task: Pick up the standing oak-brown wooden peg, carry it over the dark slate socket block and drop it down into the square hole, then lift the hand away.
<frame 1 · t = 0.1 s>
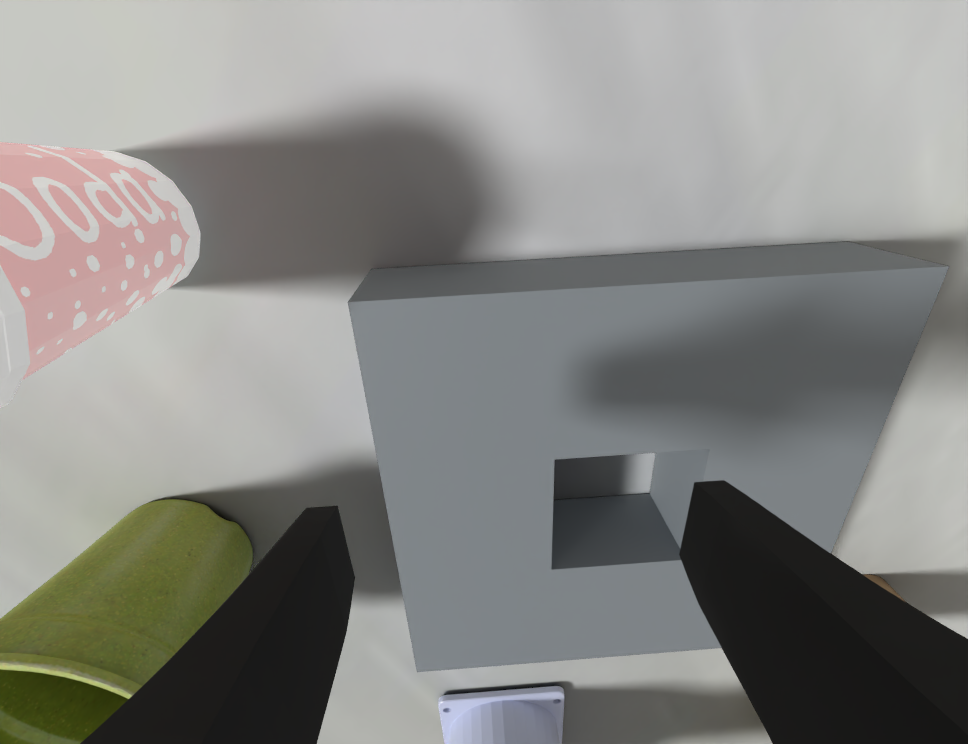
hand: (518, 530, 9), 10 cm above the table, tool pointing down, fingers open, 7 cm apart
beverage cup: (134, 223, 16), on the table
plant pot: (191, 540, 23), on the table
socket block: (596, 450, 21), on the table
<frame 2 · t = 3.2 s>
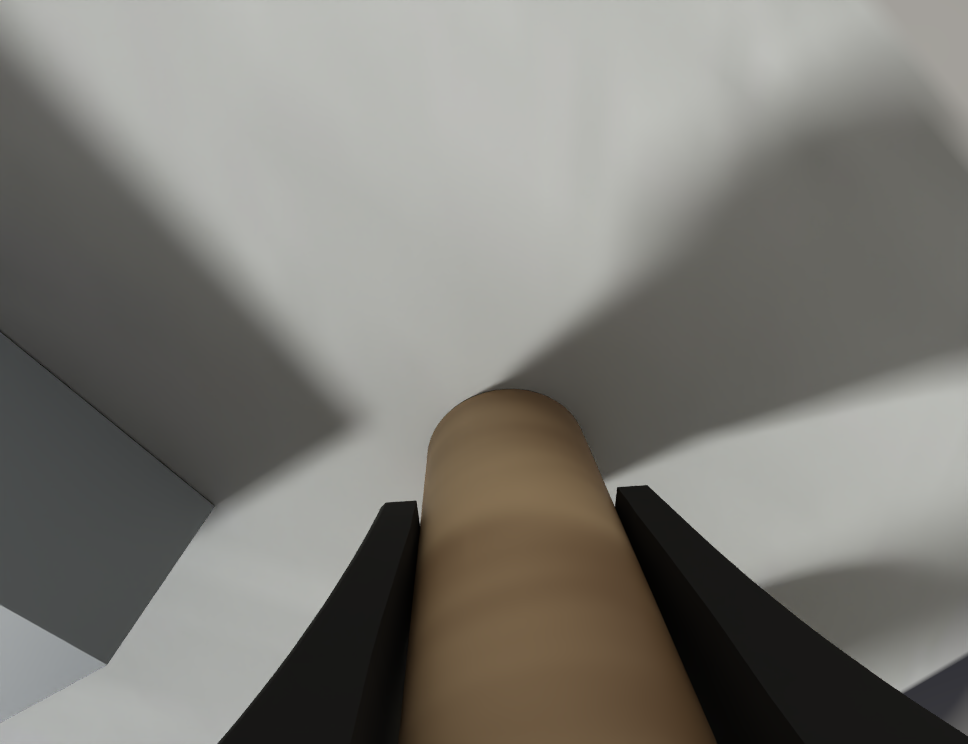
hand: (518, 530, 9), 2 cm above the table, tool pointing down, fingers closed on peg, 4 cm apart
peg: (506, 458, 12), on the table, touching gripper
when the fingers open (5 cm above the table, at t = 7.6 s): peg drops 2 cm, resting in socket block.
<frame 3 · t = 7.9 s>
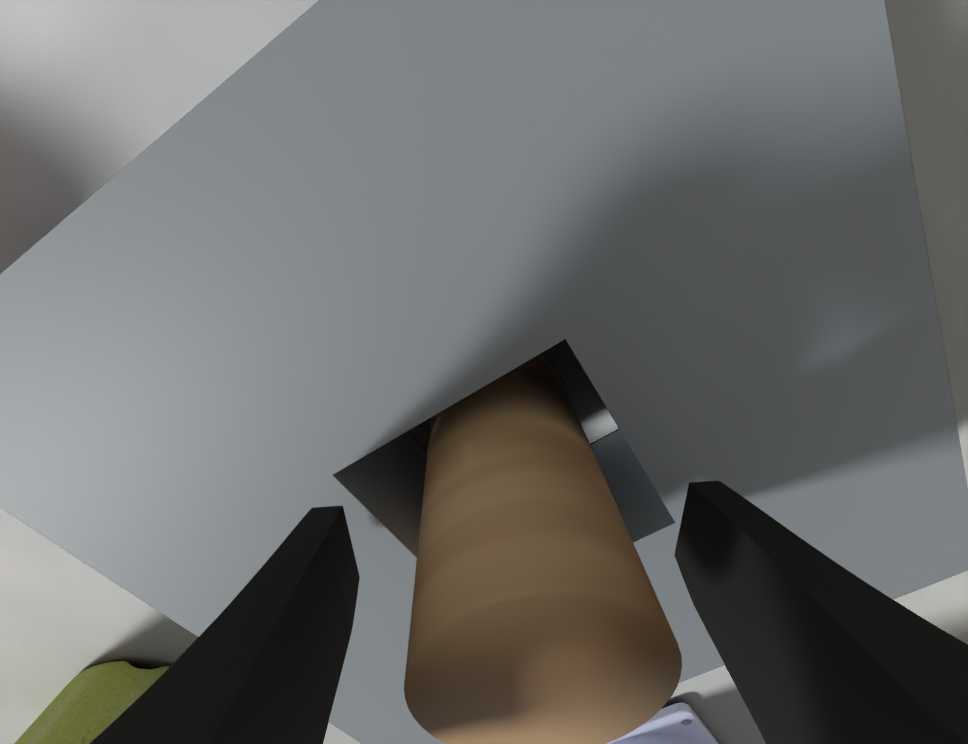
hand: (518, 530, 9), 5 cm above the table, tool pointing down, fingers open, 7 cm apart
plant pot: (152, 695, 20), on the table
socket block: (499, 408, 14), on the table
peg: (499, 405, 14), resting in socket block
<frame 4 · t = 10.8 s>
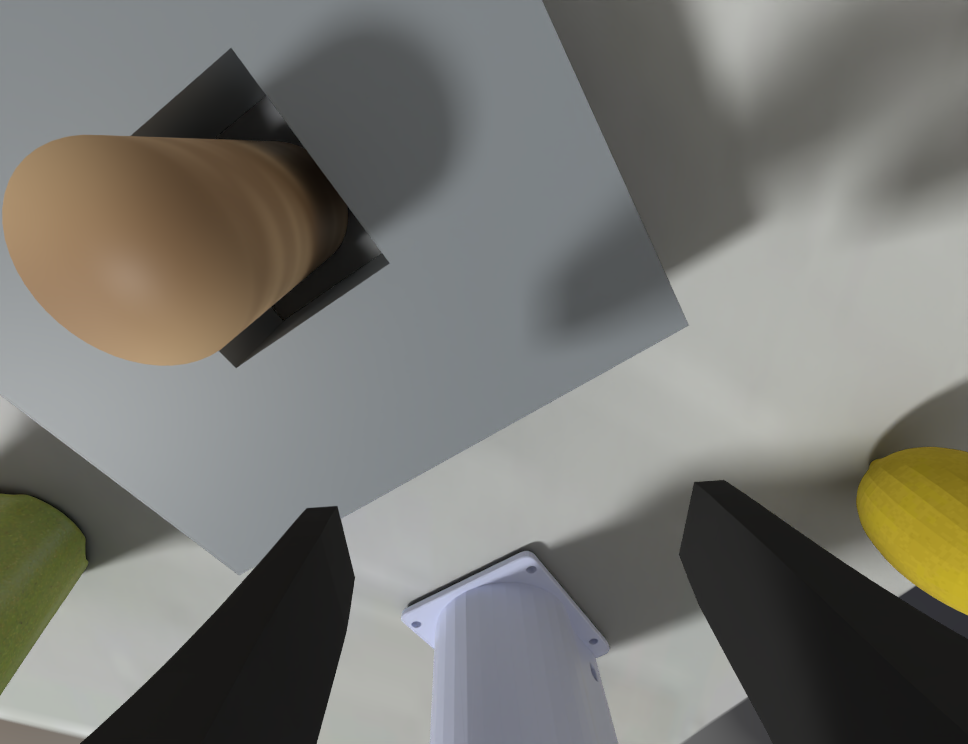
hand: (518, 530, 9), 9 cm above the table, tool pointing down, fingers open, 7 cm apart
plant pot: (22, 533, 21), on the table
socket block: (286, 211, 15), on the table
peg: (286, 208, 15), resting in socket block
lemon: (871, 460, 22), on the table
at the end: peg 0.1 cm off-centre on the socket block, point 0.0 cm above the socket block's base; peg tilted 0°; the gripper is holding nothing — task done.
